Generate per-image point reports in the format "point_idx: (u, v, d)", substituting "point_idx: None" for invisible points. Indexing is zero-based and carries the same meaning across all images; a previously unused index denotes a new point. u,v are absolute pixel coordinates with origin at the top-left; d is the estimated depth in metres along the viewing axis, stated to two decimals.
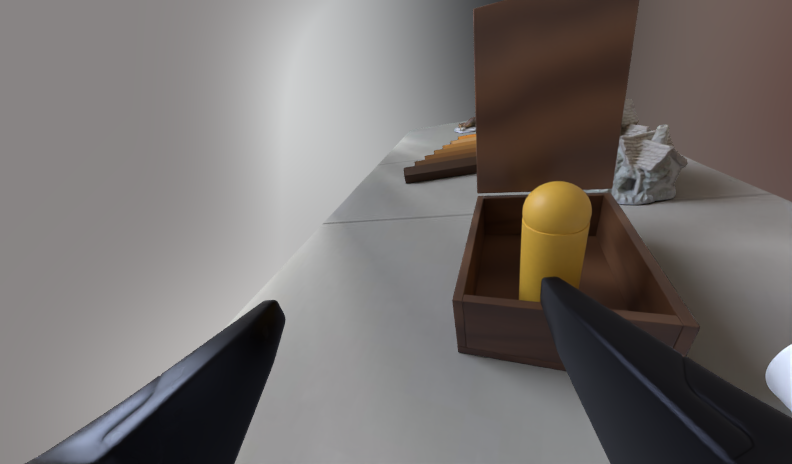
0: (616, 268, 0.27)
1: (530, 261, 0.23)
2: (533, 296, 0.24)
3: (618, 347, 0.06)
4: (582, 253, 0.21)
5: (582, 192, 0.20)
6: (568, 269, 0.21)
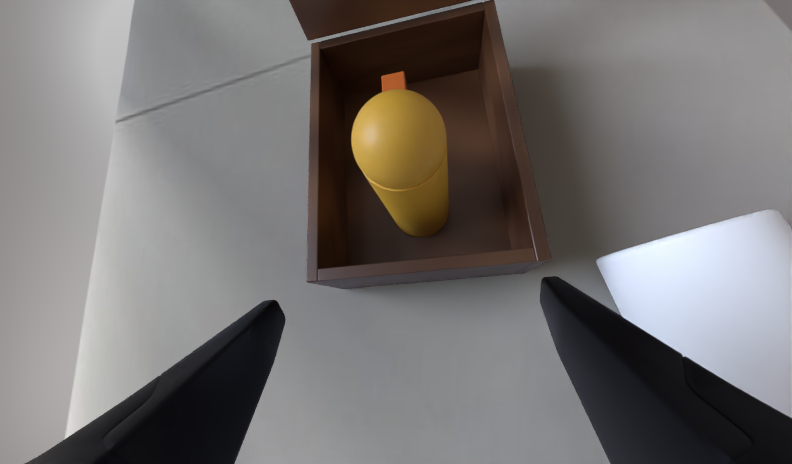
0: (494, 135, 0.23)
1: (385, 203, 0.17)
2: (401, 223, 0.20)
3: (618, 347, 0.06)
4: (443, 184, 0.16)
5: (427, 120, 0.12)
6: (430, 205, 0.17)
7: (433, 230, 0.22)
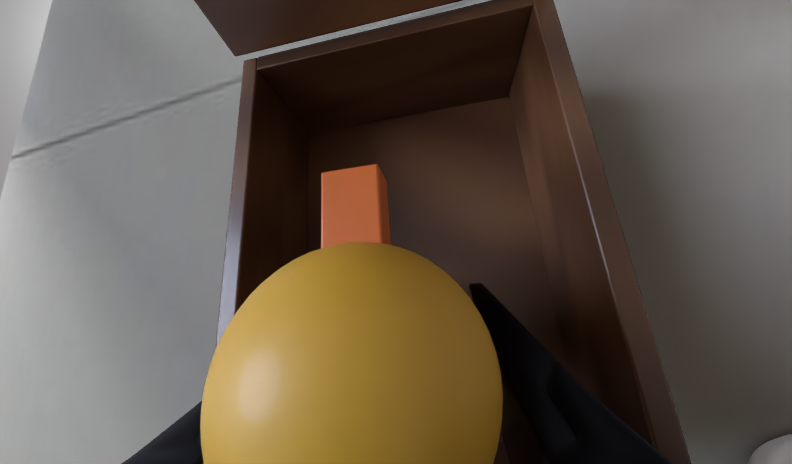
0: (542, 213, 0.14)
1: None
2: None
3: (504, 352, 0.06)
4: None
5: (452, 440, 0.03)
6: None
7: None
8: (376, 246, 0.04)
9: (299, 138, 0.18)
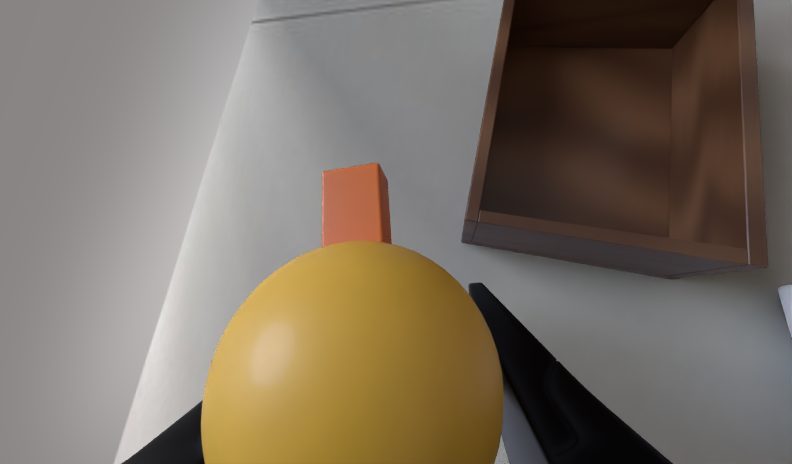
0: (682, 124, 0.20)
1: None
2: None
3: (504, 352, 0.06)
4: None
5: (453, 438, 0.03)
6: None
7: None
8: (377, 245, 0.04)
9: None
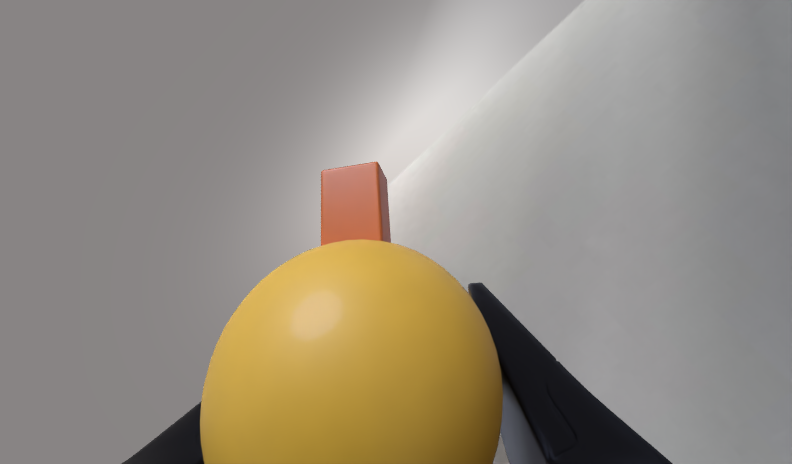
0: None
1: None
2: None
3: (504, 352, 0.06)
4: None
5: (452, 436, 0.03)
6: None
7: None
8: (376, 243, 0.04)
9: None
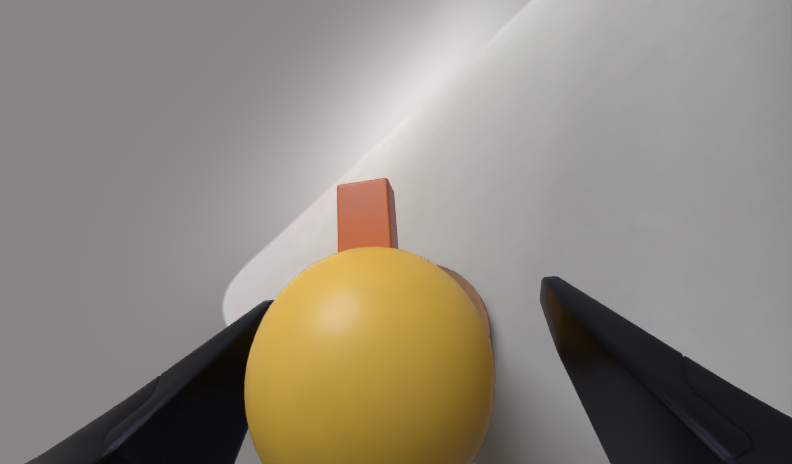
0: None
1: None
2: None
3: (618, 347, 0.06)
4: None
5: (453, 406, 0.04)
6: None
7: None
8: (387, 251, 0.05)
9: None
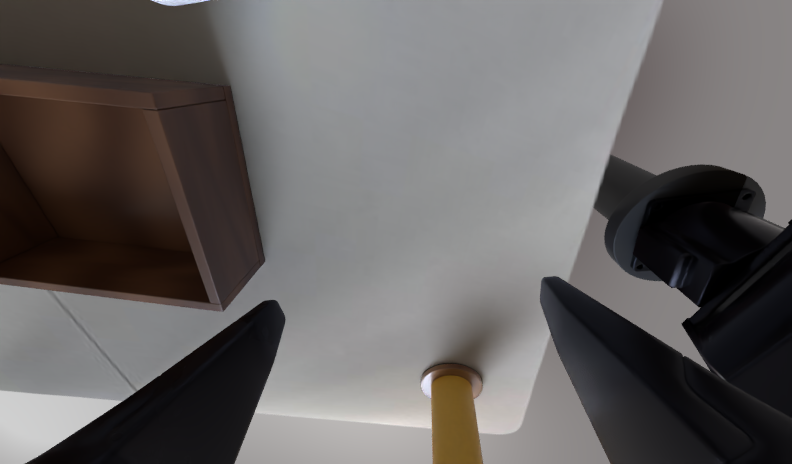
0: None
1: (481, 455, 0.26)
2: (475, 414, 0.29)
3: (618, 347, 0.06)
4: (451, 452, 0.25)
5: None
6: (463, 440, 0.26)
7: (459, 384, 0.30)
8: None
9: (55, 245, 0.24)
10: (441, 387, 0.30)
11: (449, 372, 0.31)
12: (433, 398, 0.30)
